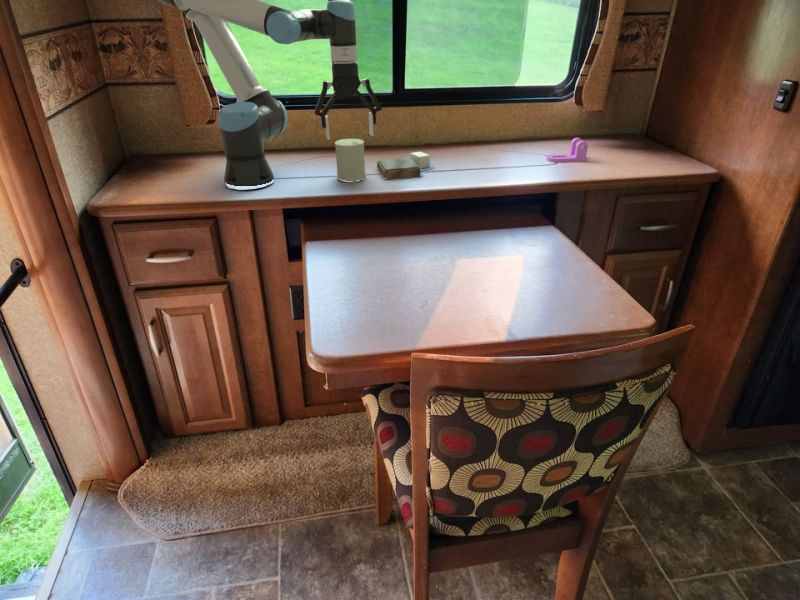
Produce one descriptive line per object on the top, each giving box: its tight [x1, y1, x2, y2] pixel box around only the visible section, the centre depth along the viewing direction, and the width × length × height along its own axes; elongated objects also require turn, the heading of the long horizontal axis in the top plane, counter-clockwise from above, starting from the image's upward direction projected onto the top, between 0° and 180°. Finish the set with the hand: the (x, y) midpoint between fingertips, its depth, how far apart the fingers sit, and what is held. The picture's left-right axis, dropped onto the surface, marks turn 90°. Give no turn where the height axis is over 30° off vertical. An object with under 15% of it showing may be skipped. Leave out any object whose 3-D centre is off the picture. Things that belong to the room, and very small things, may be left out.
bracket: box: [545, 137, 589, 164], centre depth 181 cm, size 13×6×7 cm, turn 97°
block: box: [409, 151, 430, 169], centre depth 178 cm, size 4×6×4 cm, turn 29°
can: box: [334, 138, 367, 181], centre depth 165 cm, size 9×9×12 cm
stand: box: [376, 157, 422, 179], centre depth 172 cm, size 12×12×3 cm
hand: (350, 136), depth 161 cm, fingers open, 13 cm apart
